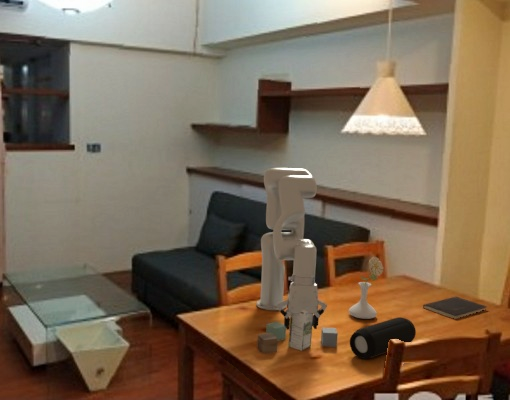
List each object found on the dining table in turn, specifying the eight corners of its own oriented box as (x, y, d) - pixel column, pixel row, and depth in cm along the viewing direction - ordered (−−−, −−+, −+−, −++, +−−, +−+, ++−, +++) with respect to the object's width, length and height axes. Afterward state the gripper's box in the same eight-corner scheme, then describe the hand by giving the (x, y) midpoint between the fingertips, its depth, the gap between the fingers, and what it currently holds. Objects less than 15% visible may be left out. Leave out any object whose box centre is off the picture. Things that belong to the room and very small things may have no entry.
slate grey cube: (320, 340, 190) (321, 327, 190) (334, 341, 190) (335, 328, 190) (322, 346, 185) (323, 332, 185) (336, 347, 185) (337, 333, 185)
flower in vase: (356, 322, 210) (360, 260, 206) (343, 312, 221) (347, 253, 217) (385, 320, 213) (390, 259, 210) (371, 310, 224) (376, 252, 221)
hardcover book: (486, 311, 231) (487, 306, 231) (455, 320, 218) (455, 315, 218) (454, 300, 244) (454, 296, 244) (422, 309, 231) (423, 303, 230)
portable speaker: (369, 365, 172) (371, 335, 171) (346, 354, 180) (348, 326, 178) (416, 347, 188) (419, 320, 186) (393, 338, 195) (395, 312, 194)
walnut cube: (257, 348, 181) (257, 334, 181) (270, 346, 183) (271, 332, 183) (263, 354, 177) (264, 340, 176) (276, 352, 179) (277, 338, 178)
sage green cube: (265, 337, 191) (266, 324, 190) (276, 334, 194) (276, 321, 194) (275, 342, 187) (275, 328, 187) (285, 339, 190) (286, 325, 190)
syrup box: (297, 341, 188) (299, 302, 186) (311, 346, 184) (314, 306, 182) (288, 346, 184) (290, 306, 182) (302, 351, 180) (304, 310, 178)
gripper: (281, 283, 176) (278, 332, 178) (331, 282, 179) (328, 331, 181) (276, 276, 183) (274, 324, 185) (325, 276, 186) (322, 323, 188)
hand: (300, 327), depth 183 cm, fingers open, 9 cm apart
